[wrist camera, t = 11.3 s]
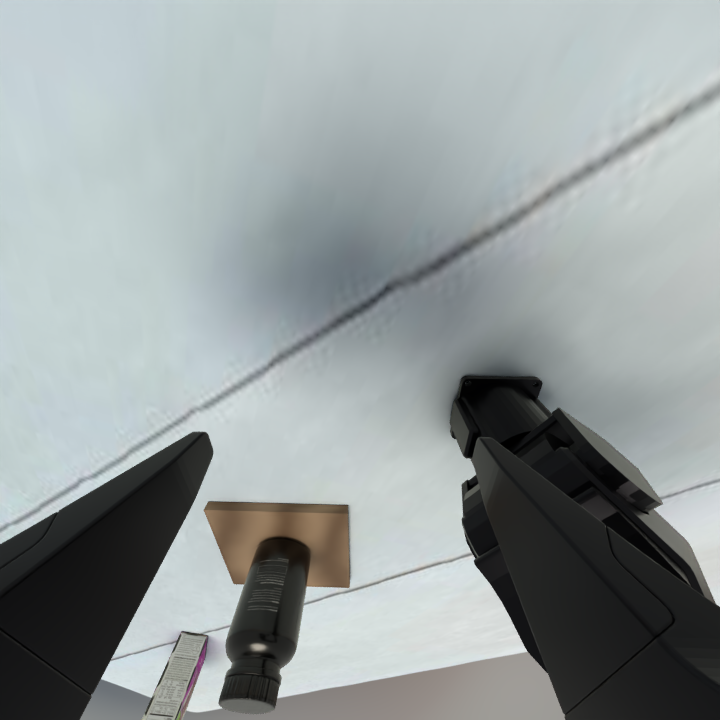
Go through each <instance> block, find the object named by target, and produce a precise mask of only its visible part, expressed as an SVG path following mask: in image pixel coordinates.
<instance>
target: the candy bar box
mask: <svg viewBox="0 0 720 720" xmlns="http://www.w3.org/2000/svg"><path fill="white" fill-rule="evenodd" d="M206 644H207V636H206V635H202V634H194V633H186V632H181V633H180V636H179V638H178V640H177V642H176V645H175V647H174V649H173V651H172V654H171V656H170V658H169V660H168V662H167V665H166V667H165V669H164V671H163V674H162V676H161V678H160V680H159V683H158V685H157V687H156V689H155V691H154V694H153V696H152V698H151V701H150V703H149V705H148V707H147V709H146V712H145V714H144V716H143V718H142V720H183V717H184V715H185V712H186V709H187V707H188V704H189V701H190V698H191V696H192V693H193V690H194V687H195V685H196V682H197V679H198V676H199V674H200V671H201V668H202V665H203V663H204V660H205V653H206Z"/></svg>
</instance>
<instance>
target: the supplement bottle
mask: <svg viewBox="0 0 720 720" xmlns="http://www.w3.org/2000/svg"><path fill="white" fill-rule="evenodd" d="M310 561H311V557H310V553H309V551H308V549H307V548H306V547H305V546H304V545H302V544H301V543H299V542H297V541H294V540H290V539H284V538H275V539H270V540H267V541H265V542H263V543H262V544H260V545H259V547H258V548H257V549H256V552H255V554H254V557H253V560H252V563H251V566H250V569H249V572H248V575H247V578H246V581H245V584H244V587H243V590H242V593H241V596H240V599H239V602H238V605H237V608H236V611H235V614H234V617H233V620H232V623H231V626H230V630H229V633H228V636H227V639H226V653H227V656H228V658H229V659H230V661H231V662H232V666H231V669H229V670H228V671H227V673H226V676H225V682H224V685H223V689H222V692H221V695H220V698H219V705H220V706H221V707H222V708H224V709H226V710H229V711H233V712H238V713H245V714H263V713H268V712H271V711H273V710H274V709H275V706H276V700H277V696H278V690H279V686H280V684H281V678H282V677H281V675H280V674H279V673H280V669H281V668H282V667H284V666H285V665H287V664H288V663H289V662H290V660H291V659H292V658H293V656H294V654H295V652H296V648H297V643H298V637H299V631H300V625H301V618H302V612H303V606H304V600H305V593H306V587H307V581H308V575H309V568H310Z"/></svg>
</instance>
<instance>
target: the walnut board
mask: <svg viewBox="0 0 720 720" xmlns="http://www.w3.org/2000/svg"><path fill="white" fill-rule="evenodd" d="M204 512H205V514H206V517H207V519H208V522H209V524H210V527H211V529H212V532H213V534H214V536H215V539H216V541H217V544H218V546H219V549H220V551H221V554H222V556H223V559H224V561H225V564H226V566H227V569H228V571H229V573H230V576H231V578H232V581H233V583H234V584H245V581H246V578H247V575H248V572H249V569H250V566H251V563H252V560H253V557H254V554H255V552H256V549H257V548H258V547H259V545H260V544H262V543H263V542H265V541H267V540H270V539H275V538H284V539H290V540H294V541H297V542H299V543H301V544H302V545H304V546H305V547H306V548H307V549H308V551H309V553H310V557H311V561H310V568H309V575H308V581H307V586H310V587H341V588H349V587H350V564H349V526H348V505H316V504H277V503H239V502H208V503H207V505H206V507H205V509H204Z"/></svg>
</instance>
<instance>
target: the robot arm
mask: <svg viewBox="0 0 720 720" xmlns="http://www.w3.org/2000/svg"><path fill="white" fill-rule="evenodd" d="M467 381H470V382H469V383H468V384H465V383H466V382H467ZM535 382H536V384H534V383H535ZM533 384H534V385H533ZM541 387H542V381H541V380H540V379H539V378H537V377H496V376H465V377H463V378H462V379H461V382H460V387H459V392H458V397H457V399H455V401H454V403H453V408H452V413H451V419H450V425H451V436H452V437H453V438H454V439H457V442H458V444H459V447H460V449H461V452H462V454H463V456H464V457H465V458H470V459H471V461H472V463H473V465H474V468H475V471H476V475H475V476H474V477H473V478H471V479H470V480H466V481H465V482H464V483H463V484H462V501H463V518H462V526H463V528H464V532H465V537H466V541H467V544H468V545H469V547H470V550H471V552H472V553H473V555H474V557H475V560H474V563H475V565H476V567H477V568H478V569H479V570H480V572H481V573H482V574H483V575H484V577H485V578H486V579H487V580H488V582H489V583H490V584H491V586H492V587H493V589H494V590H495V592H496V594H497V595H498V597H499V598H500V600H501V601H502V603H503V605H504V607H505V609H506V610H507V612H508V614H509V616H510V618H511V620H512V622H513V624H514V626H515V628H516V630H517V632H518V634H519V636H520V638H521V640H522V642H523V644H524V646H525V648H526V649H527V651H528V652H529V653H530V655H531V656H532V657H533V658H534V659H535V660H536V661H537V662H538V663H539V665H540V666H541V667H542V668H543V669H544V670H545V671H546V672H547V673H548V675H549V677H550V680H551V682H552V685H553V688H554V690H555V693H556V696H557V698H558V701H559V703H560V706H561V708H562V711H563V713H564V714H565V720H720V607H719V606H718V605H716V603H715V601H714V599H713V596H712V594H711V592H710V589H709V587H708V585H707V582H706V580H705V578H704V575H703V573H702V571H701V568H700V566H699V564H698V562H697V559H696V557H695V555H694V552H693V550H692V548H691V546H690V544H689V543H688V542H687V541H686V540H685V538H684V537H683V536H682V535H680V534H679V533H678V532H677V531H676V530H675V529H674V528H673V527H672V526H671V525H670V524H669V523H668V522H667V521H666V520H665V519H663V518H662V517H661V516H660V515H659V514H658V513H657V512H656V511H655V510H654V508H656V507H658V506H660V505H662V504H663V503H662V501H661V500H660V498H659V497H658V495H657V494H656V493H655V491H654V490H653V489H652V487H651V486H650V484H649V483H648V482H647V480H646V479H645V478H644V476H643V475H642V474H641V472H640V471H639V469H638V468H637V467H636V466H634V465H633V464H632V463H631V462H630V461H629V460H628V459H626V458H625V457H624V456H623V455H622V454H621V453H619V452H618V451H617V450H616V449H615V448H614V447H613V446H611V445H610V444H609V443H608V442H607V441H606V440H604V439H603V438H602V437H600V436H599V435H597V434H596V433H595V432H593V431H592V430H590V429H589V428H587V427H586V426H585V425H583V424H582V423H580V422H579V421H577V420H576V419H575V418H573V417H572V416H570V415H569V414H567V413H566V412H565V411H563V410H562V409H560V408H557V409H556V410H555V411H554V412H552V413H551V412H550V411H549V410H548V409H547V408H546V407H545V406H544V405H543V404H542V403H541V402H540V401H539V400H538V399H537V398H538V395H539V392H540V389H541ZM212 457H213V448H212V445H211V442H210V439H209V436H208V434H207V433H206V432H192V433H190V434H188V435H187V436H185V437H183V438H182V439H180V440H178V441H177V442H175V443H173V444H171V445H170V446H168V447H166V448H165V449H163V450H161V451H159V452H158V453H156V454H154V455H153V456H151V457H149V458H148V459H146V460H144V461H142V462H141V463H139V464H137V465H136V466H134V467H132V468H131V469H129V470H127V471H125V472H124V473H122V474H120V475H119V476H117V477H115V478H113V479H112V480H110V481H108V482H107V483H105V484H103V485H102V486H100V487H98V488H96V489H95V490H93V491H91V492H90V493H88V494H86V495H85V496H83V497H81V498H79V499H78V500H76V501H74V502H73V503H71V504H69V505H67V506H66V507H64V508H62V509H61V510H59V512H56V513H54V514H52V515H50V516H49V517H47V518H45V519H44V520H42V521H40V522H38V523H37V524H35V525H33V526H32V527H30V528H28V529H26V530H25V531H23V532H21V533H19V534H18V535H16V536H14V537H12V538H11V539H9V540H7V541H5V542H3V543H2V544H0V720H80V718H81V716H82V714H83V712H84V710H85V708H86V706H87V704H88V702H89V701H90V699H91V694H93V692H94V691H95V689H96V687H97V685H98V683H99V681H100V679H101V677H102V675H103V674H104V672H105V670H106V668H107V666H108V664H109V662H110V660H111V658H112V656H113V655H114V653H115V651H116V649H117V647H118V645H119V643H120V641H121V639H122V638H123V636H124V634H125V632H126V630H127V628H128V626H129V624H130V622H131V620H132V619H133V617H134V615H135V613H136V611H137V609H138V607H139V605H140V603H141V601H142V600H143V598H144V596H145V594H146V592H147V590H148V588H149V586H150V584H151V582H152V581H153V579H154V577H155V575H156V573H157V571H158V569H159V567H160V565H161V564H162V562H163V560H164V558H165V556H166V554H167V552H168V550H169V548H170V546H171V545H172V543H173V541H174V539H175V537H176V535H177V533H178V531H179V529H180V527H181V526H182V524H183V522H184V520H185V518H186V516H187V514H188V512H189V510H190V508H191V506H192V504H193V502H194V500H195V498H196V496H197V494H198V491H199V489H200V486H201V484H202V481H203V479H204V476H205V474H206V472H207V469H208V467H209V464H210V462H211V459H212Z"/></svg>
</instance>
